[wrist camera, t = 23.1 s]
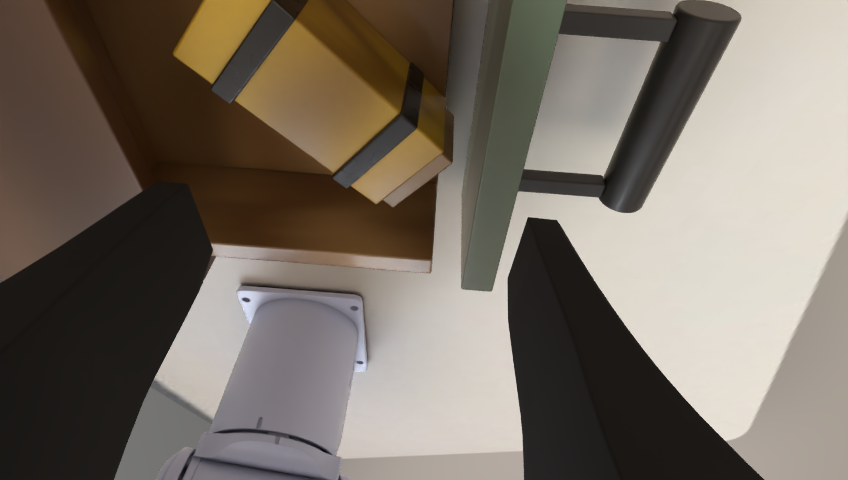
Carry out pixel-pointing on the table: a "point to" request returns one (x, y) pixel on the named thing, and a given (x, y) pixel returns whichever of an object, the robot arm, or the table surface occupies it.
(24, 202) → the cabinet
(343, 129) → the pencil bundle
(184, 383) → the table surface
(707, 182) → the table surface
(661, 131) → the drawer
